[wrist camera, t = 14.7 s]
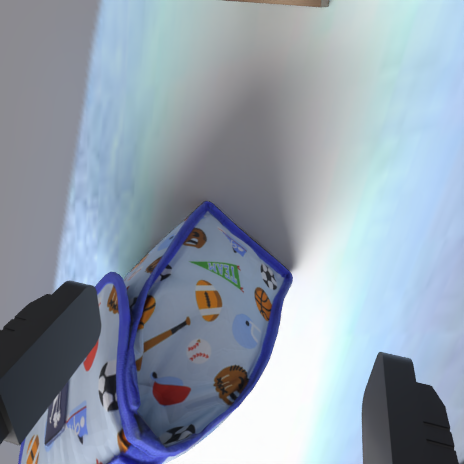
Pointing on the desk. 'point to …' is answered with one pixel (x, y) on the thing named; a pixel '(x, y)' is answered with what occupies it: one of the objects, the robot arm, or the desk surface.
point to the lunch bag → (168, 349)
